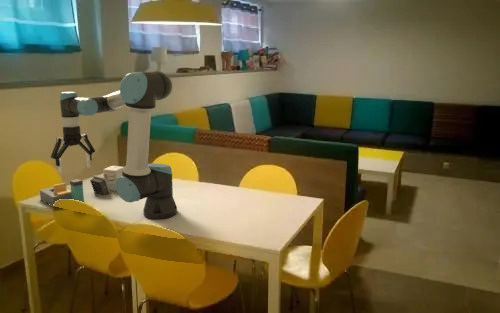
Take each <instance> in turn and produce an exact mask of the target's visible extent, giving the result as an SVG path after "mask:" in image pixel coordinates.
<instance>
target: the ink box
mask: <svg viewBox="0 0 500 313" xmlns="http://www.w3.org/2000/svg"><path fill="white" fill-rule="evenodd" d="M123 167H124V166H119V165H111V166H108V167H106V168H103V169H102V173H103V177H104V178H106V180H107V183H108V186H109V189H110V192H111V191H112V192H117V190H116V185H115V184H116V180H117V179H118V178H119V177H120V176H122V169H123Z"/></svg>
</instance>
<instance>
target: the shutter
mask: <svg viewBox="0 0 500 313" xmlns="http://www.w3.org/2000/svg"><path fill="white" fill-rule="evenodd" d="M66 186H67V183H66V182H62V183H57V184H53V187H54V191H53V193H55V194H56V195H58V196H61V195H65V194H69V193H71V191H70V190H68V189H66Z"/></svg>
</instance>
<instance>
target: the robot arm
mask: <svg viewBox="0 0 500 313" xmlns="http://www.w3.org/2000/svg"><path fill="white" fill-rule="evenodd" d="M172 91H173V82H172V79H171V77H169V76H168V74H166V73H164V72H162V71H159V70H158V71H135V72H129V73H127V74H125V76H123V78H122V79H121V81H120V84H119V90H118V91H115V92H111V93H109V94H107V95H106V94H105V95H101V96H91V97H90V96H88V97H79V95H78V92H76V91H62V92H61V93H59V98H60V99H59V103H60V105H59V106H60V112H61V113H60V114H61V123H62V124H61V125H62V135H63V137H55V138H56V142H55V144H54V147H53V149H52V152H51V154H50V158H51V159H53V160H55V166H56V167H57V168H58V173H60V174H63V172H64V171H63V162H62V161H63V160H62V159H61V157H62V156H63V154H64V153H65V151H66V150H67V149H68V148H70V147H74V146H78V145H79V147H80V148H81V149H83V151H85V163H86V168H88V169H90V168H92V166H91V161H92V160H93V158H92V155H93V153H95V152H96V150H95V148H94V147H93V144H92V143H91V141H90V140H89V136H88V134H87V133H86V134H85V133H83V134H81V133H82V132H81V126H80V124H81V123H80V116H81V115H82V116H84V117H85V116H86V117H87V116H90V117H91V116H93V115H95V114H102V113H108V112H110V113H112V112H115V111H118V110H119V109H122V108H125V107H126V108H127V109H128V123H127V124H128V126H127V127H128V128H127V142H126V143H127V147H126V164H125V166H122V167H123V169H122V176H120V177H119V178H118V179H117V180H116V184H115V185H116V190H117V191H116V192H117V195H118V196H119V197H120V198H121V199H122V200H123V201H124V202H126V203H133V202H139V201H141V200H143V199H145V203H144V207H143V212H142V213H143V216H144V217H145V218H147V219H150V220H151V219H152V220H164V219H169V218H172V217H174V216H176V215H177V213H178V207H177V204H176V201H175V199H174V193H173V192H174V191H173V171H172V167H171V165H169V164H167V163H166V164H164V163H157V162H156V163H154V162H153V163H149V153H150V152H149V151H150V150H149V148H150V137H151V136H150V134H151V133H150V132H151V122H152V121H151V120H152V111H153V110H155V108H156V106H157V105H156V101H161V100H164V99H167V98H168V97H169V96H170V95H171V94H172ZM82 139H83V141H84V143H85V144H86V145H85V144H84V143H83V142H82V141H81V140H82ZM62 143H63V144H62ZM61 145H62V146H61Z"/></svg>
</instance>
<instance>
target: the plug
mask: <svg viewBox="0 0 500 313" xmlns="http://www.w3.org/2000/svg"><path fill="white" fill-rule="evenodd" d="M83 181H84V180H82V179H80V178H75V179H72V180H69V184H70V188H71V194H72V199H74V200H79V201H82V202H84V203H85V200H84V199H85V197H84V188H83V186H84V185H83Z"/></svg>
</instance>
